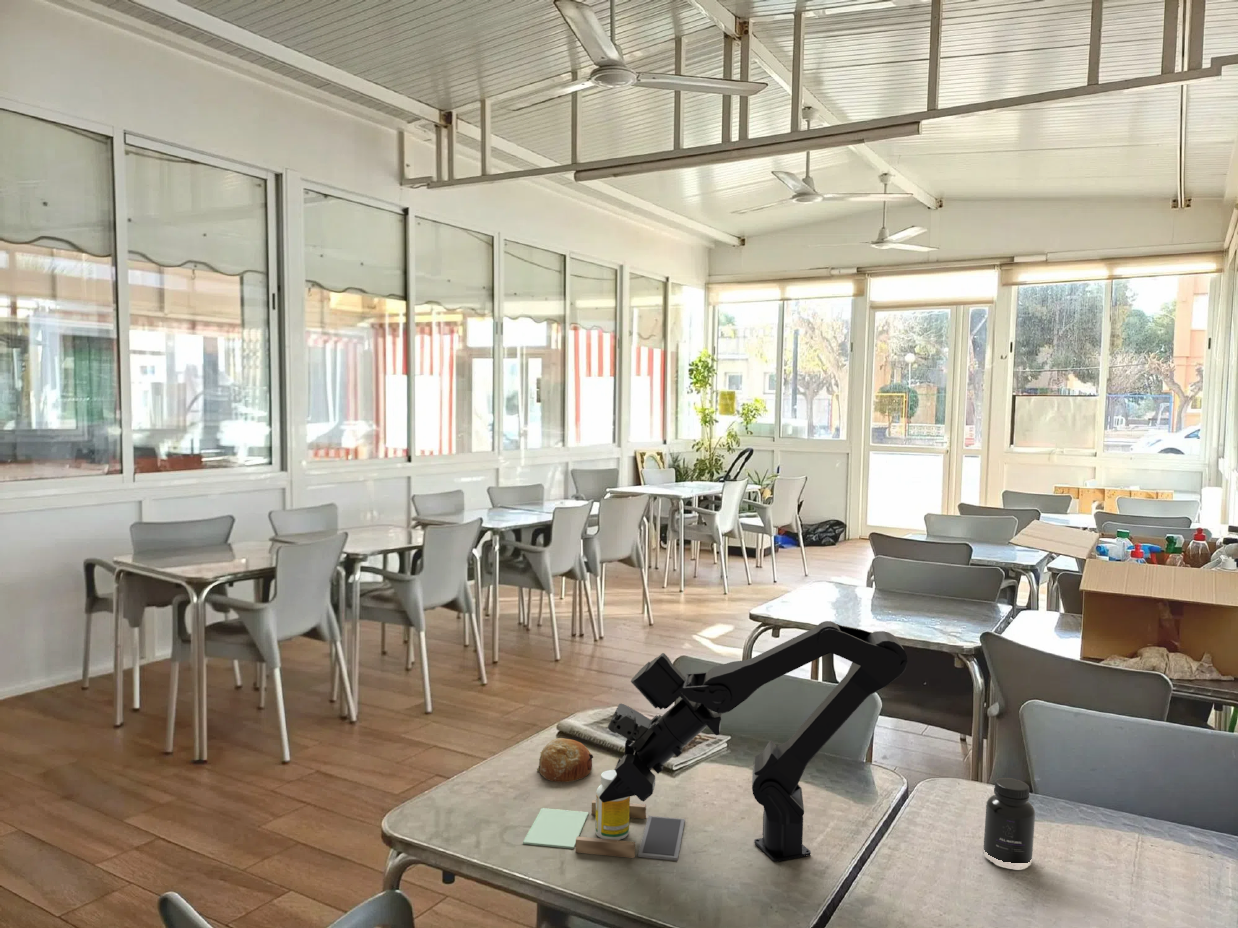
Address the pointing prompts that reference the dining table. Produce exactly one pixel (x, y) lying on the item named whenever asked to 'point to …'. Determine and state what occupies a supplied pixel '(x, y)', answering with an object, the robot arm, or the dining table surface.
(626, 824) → the supplement bottle
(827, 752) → the dining table surface
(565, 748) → the bread roll
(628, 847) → the walnut channel
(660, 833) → the pit rectangle
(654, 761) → the robot arm
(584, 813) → the pad
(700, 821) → the dining table surface
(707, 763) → the dining table surface
